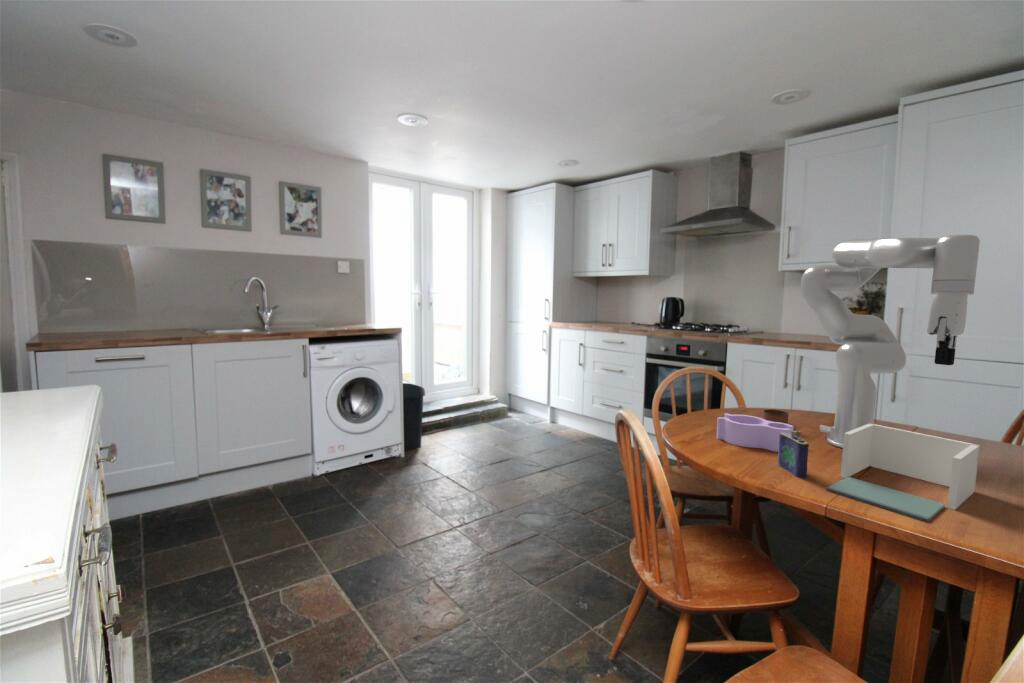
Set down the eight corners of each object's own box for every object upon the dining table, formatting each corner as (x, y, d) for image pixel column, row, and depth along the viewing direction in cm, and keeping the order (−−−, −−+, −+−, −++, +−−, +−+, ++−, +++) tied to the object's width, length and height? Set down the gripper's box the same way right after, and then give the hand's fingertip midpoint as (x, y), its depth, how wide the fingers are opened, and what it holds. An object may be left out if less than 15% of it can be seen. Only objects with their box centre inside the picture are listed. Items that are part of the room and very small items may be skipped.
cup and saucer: (753, 423, 166) (754, 406, 165) (792, 427, 161) (793, 410, 160) (756, 432, 155) (757, 414, 154) (798, 437, 150) (799, 418, 149)
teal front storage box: (865, 467, 124) (869, 423, 123) (974, 495, 107) (980, 445, 106) (840, 480, 115) (844, 433, 114) (954, 514, 98) (960, 459, 97)
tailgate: (848, 476, 114) (826, 487, 107) (944, 503, 99) (927, 519, 93) (847, 481, 114) (826, 493, 107) (944, 509, 99) (926, 525, 93)
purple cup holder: (795, 445, 142) (797, 423, 141) (785, 456, 133) (787, 432, 132) (726, 432, 155) (727, 411, 154) (713, 440, 146) (714, 419, 145)
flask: (774, 467, 124) (777, 424, 123) (786, 467, 124) (789, 425, 123) (798, 482, 114) (802, 436, 113) (811, 482, 114) (815, 436, 113)
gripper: (941, 288, 119) (933, 360, 121) (921, 288, 110) (913, 364, 112) (982, 288, 112) (973, 363, 114) (965, 288, 104) (956, 369, 106)
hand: (943, 364), depth 113 cm, fingers closed
